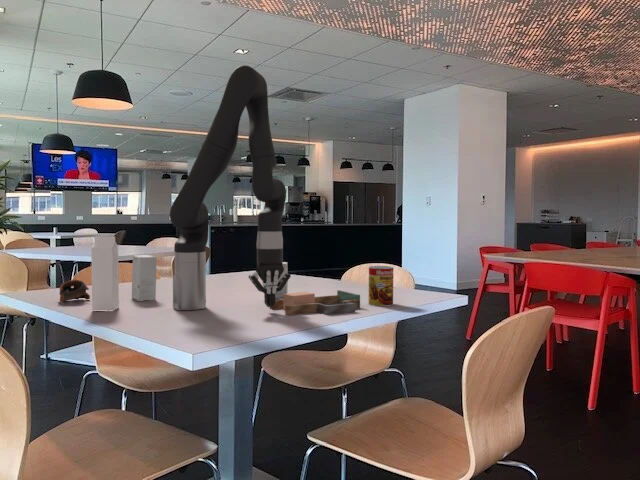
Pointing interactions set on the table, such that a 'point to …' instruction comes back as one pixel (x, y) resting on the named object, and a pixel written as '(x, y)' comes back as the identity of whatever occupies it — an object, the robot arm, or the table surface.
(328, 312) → the channel
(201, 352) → the table surface
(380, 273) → the canned food
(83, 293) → the brown dome piece
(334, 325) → the table surface
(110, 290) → the milk
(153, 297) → the skincare box
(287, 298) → the block
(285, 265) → the supplement box
